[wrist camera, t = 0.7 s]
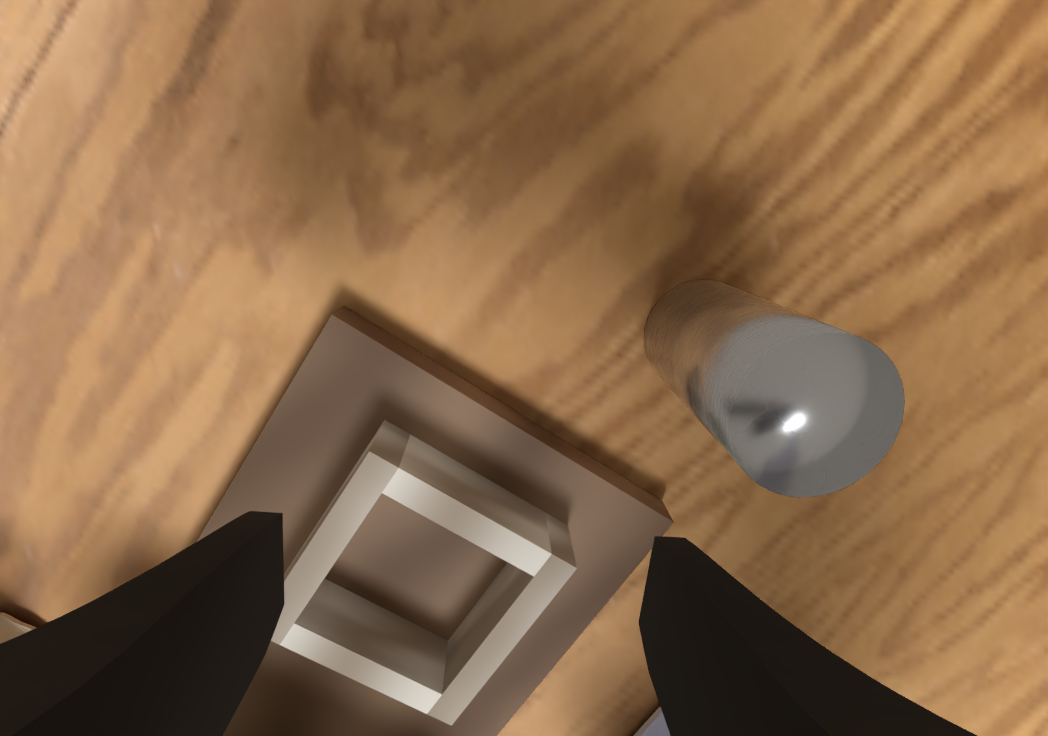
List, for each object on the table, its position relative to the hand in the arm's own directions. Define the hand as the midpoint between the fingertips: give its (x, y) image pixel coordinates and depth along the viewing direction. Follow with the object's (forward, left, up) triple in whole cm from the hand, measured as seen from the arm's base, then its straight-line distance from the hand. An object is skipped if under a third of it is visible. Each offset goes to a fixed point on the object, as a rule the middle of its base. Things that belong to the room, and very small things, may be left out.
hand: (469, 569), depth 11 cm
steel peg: (-5, -6, -10) cm, 13 cm away
